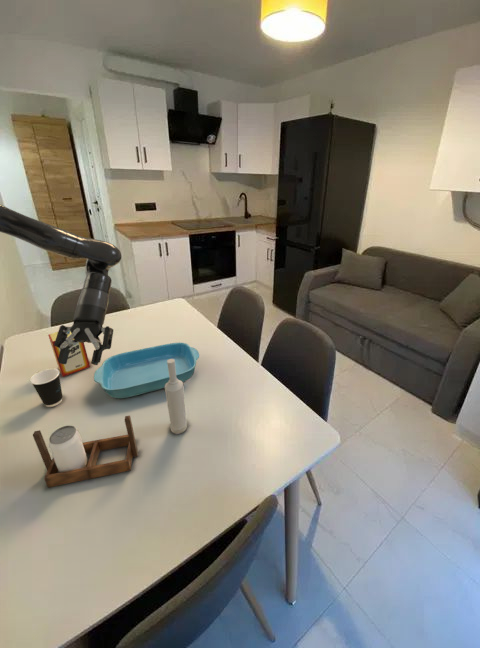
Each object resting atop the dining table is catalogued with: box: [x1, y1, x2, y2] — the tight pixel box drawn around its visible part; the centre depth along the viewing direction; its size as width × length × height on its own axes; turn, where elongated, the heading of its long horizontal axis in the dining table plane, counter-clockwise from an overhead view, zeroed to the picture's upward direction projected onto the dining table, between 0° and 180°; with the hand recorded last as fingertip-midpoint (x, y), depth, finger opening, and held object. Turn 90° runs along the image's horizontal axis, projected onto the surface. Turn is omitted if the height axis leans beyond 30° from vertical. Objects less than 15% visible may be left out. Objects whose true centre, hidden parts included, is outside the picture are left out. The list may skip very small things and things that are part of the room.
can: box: [48, 425, 89, 473], centre depth 75 cm, size 6×6×12 cm
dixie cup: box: [29, 367, 63, 408], centre depth 96 cm, size 8×8×11 cm
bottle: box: [164, 359, 188, 435], centre depth 85 cm, size 5×5×25 cm
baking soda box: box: [48, 331, 91, 378], centre depth 112 cm, size 10×6×16 cm
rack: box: [32, 415, 139, 488], centre depth 75 cm, size 22×9×14 cm, turn 105°
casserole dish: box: [93, 342, 200, 399], centre depth 110 cm, size 37×22×7 cm, turn 115°
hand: (78, 364), depth 78 cm, fingers open, 8 cm apart
